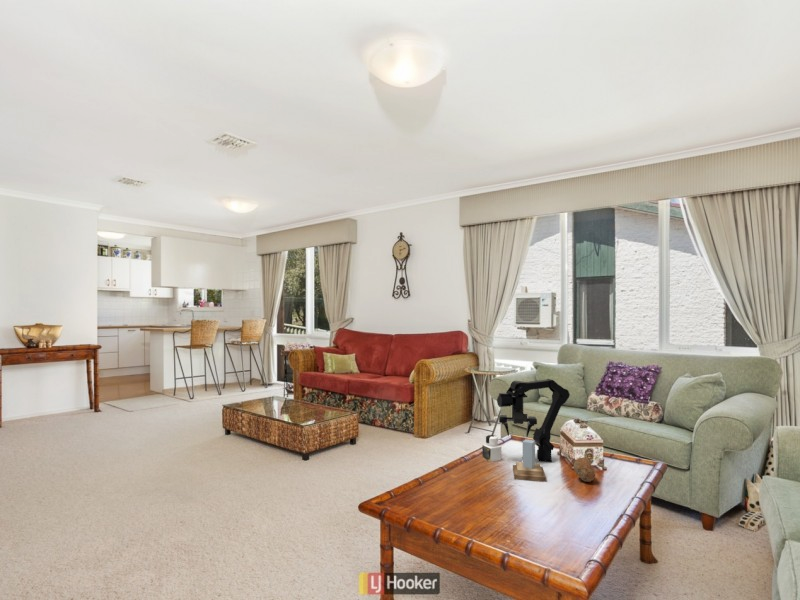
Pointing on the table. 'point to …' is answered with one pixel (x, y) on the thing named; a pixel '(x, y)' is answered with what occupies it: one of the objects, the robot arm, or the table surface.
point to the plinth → (529, 477)
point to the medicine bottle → (491, 449)
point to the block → (529, 454)
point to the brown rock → (584, 469)
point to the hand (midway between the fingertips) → (517, 436)
